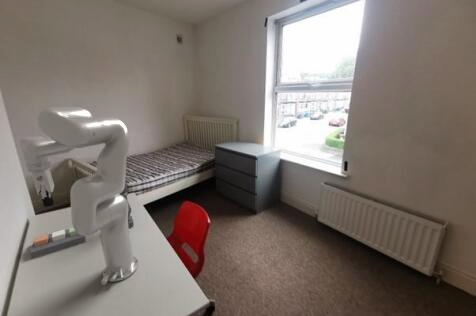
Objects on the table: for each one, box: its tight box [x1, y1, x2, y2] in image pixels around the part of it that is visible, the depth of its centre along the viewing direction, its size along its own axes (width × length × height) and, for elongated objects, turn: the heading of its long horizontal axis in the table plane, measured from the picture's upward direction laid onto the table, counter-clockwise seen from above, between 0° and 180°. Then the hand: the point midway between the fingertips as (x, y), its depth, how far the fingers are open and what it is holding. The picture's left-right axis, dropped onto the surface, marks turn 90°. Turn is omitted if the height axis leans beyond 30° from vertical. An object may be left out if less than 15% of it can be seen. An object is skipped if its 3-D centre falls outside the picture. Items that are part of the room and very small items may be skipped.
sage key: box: [68, 226, 79, 237], centre depth 104 cm, size 4×4×4 cm
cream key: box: [51, 229, 66, 242], centre depth 100 cm, size 4×4×4 cm
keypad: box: [29, 228, 87, 260], centre depth 101 cm, size 19×12×3 cm, turn 127°
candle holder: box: [120, 180, 135, 230], centre depth 111 cm, size 6×6×25 cm
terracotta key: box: [33, 233, 49, 247], centre depth 97 cm, size 4×4×4 cm
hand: (49, 205), depth 95 cm, fingers closed
